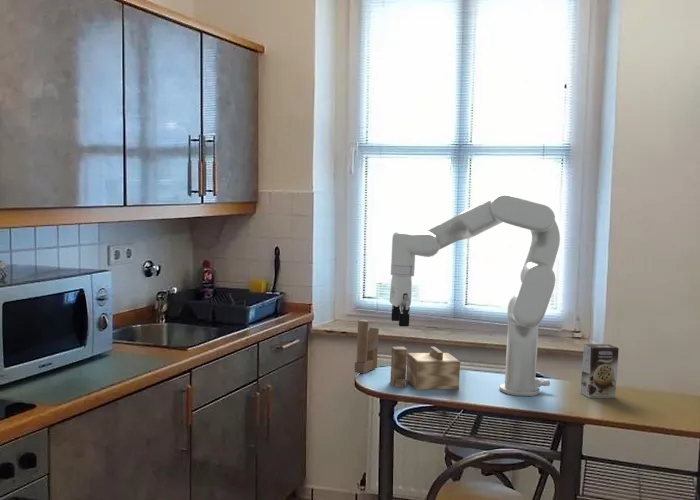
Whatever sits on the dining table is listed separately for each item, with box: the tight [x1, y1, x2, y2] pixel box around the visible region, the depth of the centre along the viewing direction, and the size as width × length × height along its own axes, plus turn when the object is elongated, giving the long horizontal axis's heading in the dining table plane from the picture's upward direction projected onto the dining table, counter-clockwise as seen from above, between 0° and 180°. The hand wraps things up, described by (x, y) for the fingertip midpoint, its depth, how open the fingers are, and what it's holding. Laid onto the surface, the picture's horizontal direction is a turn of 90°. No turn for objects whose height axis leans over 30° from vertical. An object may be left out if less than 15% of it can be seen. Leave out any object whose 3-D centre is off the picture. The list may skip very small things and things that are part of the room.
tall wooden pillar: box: [389, 346, 408, 387], centre depth 247 cm, size 4×4×12 cm
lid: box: [407, 346, 460, 363], centre depth 249 cm, size 14×11×3 cm
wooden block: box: [354, 319, 380, 374], centre depth 265 cm, size 4×11×18 cm, turn 152°
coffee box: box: [580, 343, 620, 399], centre depth 242 cm, size 9×6×16 cm
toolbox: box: [394, 352, 461, 390], centre depth 249 cm, size 20×13×9 cm, turn 101°
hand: (399, 323), depth 246 cm, fingers open, 9 cm apart
